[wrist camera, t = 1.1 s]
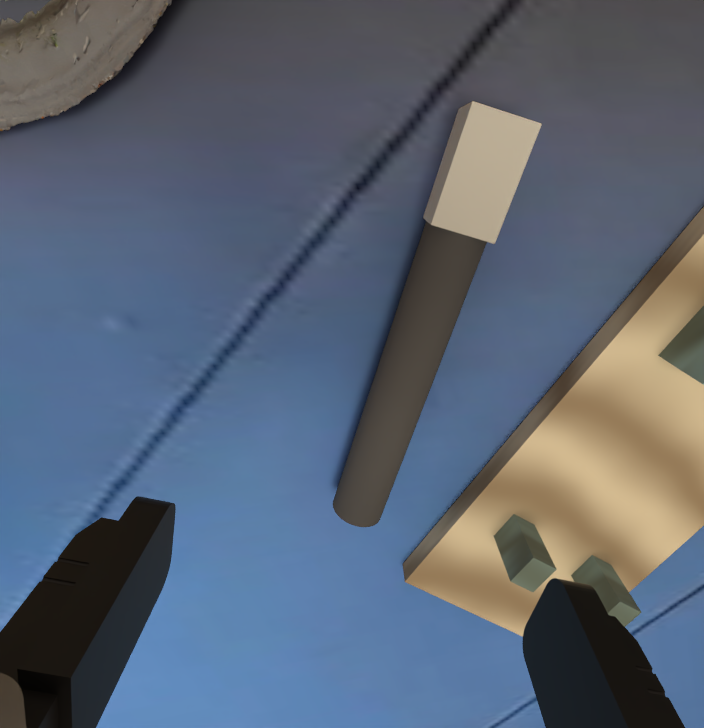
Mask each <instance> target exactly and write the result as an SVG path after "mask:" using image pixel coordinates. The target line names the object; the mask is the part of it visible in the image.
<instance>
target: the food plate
mask: <svg viewBox="0 0 704 728" xmlns="http://www.w3.org/2000/svg"><path fill="white" fill-rule="evenodd" d="M5 1H8V0H5ZM171 2H172V0H52V1H50V2H48V3H47V4H46V5H45V6H44V7H43V8H42V9H41V10H40V11H37V14H36V15H35V14H34V13H33V11H30V12H28V13H26V15H25V16H24V17H23V20H21V21H20V23H16V22H15V21H14V20H12V19H10V18H7V20H6V21H4V20H3V19H2V21H1V23H0V131H3V130H9V129H10V128H11V126H15V125H16V124H18V123H19V124H20V123H21V122H23V123H25V122H27V123H28V122H29V121H33V120H35V119H36V120H38V118H42V119H44V117H45V116H47V117H48V115H50V116H51V117H52V116H54V115H56V116H58V115H59V114H60V112H62V111H63V110H64V111H66V110H67V109H68V108H71V106H75V105H77V104H79V103H80V101H81V100H82V99H83V98H86V96H88V95H90V94H91V93H94V92H96V90H97V89H98V87H100V86H101V85H103V84H104V83H105V82H106V80H108V81H109V80H111V77H113V75H114V73H115V72H116V73H115V76H116V75H117V74H118V73H119V72H118V71H119V70H121V69H122V67H123V66H124V65H125V64H126V63H127V62H129V60H130V59H131V57H132V56H133V53H134V52H135V51H136V50H137V49H138V48H139V47H140V46H141V44H142V43H143V42H144V40H145V39H147V36H148V35H149V34H150V33H151V32H152V31H153V30H154V29H153V27H156V25H157V24H156V23H157V20H158V18H159V17H160V16H162V15H163V12H164V11H165V10H166V8H167V6H168V4H169V6H170V5H171ZM168 8H169V7H168ZM153 24H155V25H153ZM158 24H159V23H158ZM115 76H114V77H115ZM114 77H113V78H114Z"/></svg>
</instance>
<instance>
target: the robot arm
mask: <svg viewBox="0 0 704 728" xmlns="http://www.w3.org/2000/svg"><path fill="white" fill-rule="evenodd" d="M174 521H175V504H174V503H170V502H165V501H160V500H154V499H149V498H144V497H139V496H138V497H136V498H135V499H134V500H133V501H132V502H131V504H130V505H129V507H128V508H127V509H126V511H125V512H124V514H123V515H122V517H121V518H120V520H119V521H117V520H112V519H106V518H100V519H99V520H97V521H96V522H94V523H93V524H91V525H90V526H88V527H87V528H85V529H84V530H82V531H81V532H79V533H78V534H76V535H75V537H74V538H73V539H72V541H71V542H70V543H69V544H68V546H67V547H66V548H65V550H64V551H63V552H62V553H61V555H60V556H59V558H58V561H57V562H55V563H54V564H53V565H52V566H51V568H50V569H49V570H48V572H47V573H46V574H45V575H44V578H43V580H42V582H39V583H38V584H37V586H36V587H35V588H34V590H33V591H32V592H31V593H30V595H29V596H28V597H27V599H26V600H25V601H24V602H23V604H22V605H21V606H20V608H19V609H18V610H17V611H16V613H15V614H14V615H13V617H12V618H11V619H10V621H9V622H8V623H7V624H6V626H5V627H4V628H3V630H2V631H1V632H0V728H96V726H97V724H98V722H99V720H100V718H101V716H102V714H103V712H104V710H105V708H106V705H107V703H108V701H109V699H110V697H111V695H112V693H113V691H114V689H115V687H116V685H117V682H118V680H119V678H120V676H121V674H122V672H123V670H124V668H125V666H126V664H127V662H128V660H129V657H130V655H131V653H132V651H133V649H134V647H135V645H136V643H137V641H138V639H139V637H140V634H141V632H142V630H143V628H144V626H145V624H146V622H147V620H148V618H149V616H150V614H151V612H152V609H153V607H154V605H155V603H156V601H157V599H158V597H159V595H160V593H161V591H162V588H163V586H164V583H165V581H166V577H167V574H168V571H169V567H170V562H171V555H172V544H173V533H174ZM523 653H524V658H525V662H526V665H527V668H528V671H529V675H530V678H531V681H532V684H533V688H534V691H535V694H536V697H537V701H538V704H539V707H540V710H541V714H542V717H543V720H544V723H545V726H546V728H685V727H684V725H683V723H682V721H681V720H680V718H679V716H678V714H677V712H676V710H675V709H674V707H673V705H672V703H671V701H670V700H669V698H667V697H665V691H664V689H663V687H662V685H661V683H660V682H659V680H658V678H657V676H656V674H653V673H652V667H651V665H650V663H649V662H648V660H647V658H646V656H645V654H644V653H643V651H642V649H641V647H640V645H639V643H638V642H637V640H636V639H635V638H634V637H633V636H632V635H631V634H630V633H629V632H628V630H627V629H626V628H625V627H624V626H623V625H622V624H621V623H620V621H619V620H618V619H617V618H616V617H615V616H610V615H608V613H607V611H606V609H605V607H604V605H603V603H602V601H601V600H600V598H599V596H598V594H597V592H596V590H595V589H594V588H593V587H592V586H590V585H588V584H583V583H578V582H572V581H567V580H562V579H557V578H553V579H551V580H550V581H549V582H548V583H547V585H546V587H545V589H544V591H543V593H542V595H541V597H540V598H539V600H538V602H537V604H536V606H535V608H534V610H533V612H532V614H531V616H530V618H529V620H528V622H527V624H526V626H525V629H524V633H523Z"/></svg>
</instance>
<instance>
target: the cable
mask: <svg viewBox="0 0 704 728" xmlns="http://www.w3.org/2000/svg"><path fill="white" fill-rule="evenodd" d="M541 125H542V124H541V123H538V122H535V121H532V120H529V119H526V118H523V117H520V116H517V115H513V114H510V113H507V112H504V111H501V110H498V109H495V108H492V107H489V106H486V105H483V104H480V103H477V102H474V101H472V102H470V103H468V104H467V105H465V106H463V107H461V108H459V110H458V113H457V116H456V119H455V122H454V125H453V128H452V131H451V134H450V137H449V140H448V143H447V146H446V149H445V152H444V155H443V158H442V161H441V164H440V167H439V170H438V173H437V176H436V180H435V183H434V186H433V189H432V192H431V195H430V198H429V201H428V204H427V207H426V210H425V213H424V216H423V218H424V219H425V220H426V224H425V227H424V230H423V233H422V236H421V239H420V242H419V245H418V248H417V251H416V254H415V257H414V260H413V263H412V266H411V269H410V272H409V275H408V278H407V281H406V284H405V287H404V290H403V293H402V296H401V299H400V302H399V305H398V308H397V311H396V314H395V317H394V320H393V323H392V326H391V329H390V332H389V335H388V338H387V341H386V344H385V347H384V350H383V353H382V356H381V359H380V362H379V365H378V368H377V371H376V374H375V377H374V380H373V383H372V386H371V389H370V392H369V395H368V398H367V401H366V404H365V407H364V410H363V413H362V416H361V419H360V422H359V425H358V428H357V431H356V434H355V437H354V440H353V443H352V446H351V449H350V452H349V455H348V458H347V461H346V464H345V467H344V470H343V473H342V476H341V479H340V482H339V485H338V488H337V491H336V494H335V497H334V500H333V508H334V510H335V512H336V514H337V515H338V516H339V517H340V518H341V519H343V520H344V521H345V522H347V523H349V524H352V525H354V526H359V527H370V526H373V525H375V524H377V523H378V522H379V520H380V518H381V515H382V513H383V510H384V507H385V505H386V502H387V500H388V497H389V494H390V492H391V489H392V487H393V484H394V481H395V479H396V476H397V474H398V471H399V468H400V466H401V463H402V461H403V458H404V455H405V453H406V450H407V448H408V445H409V443H410V440H411V437H412V435H413V432H414V430H415V427H416V424H417V422H418V419H419V417H420V414H421V411H422V409H423V406H424V404H425V401H426V398H427V396H428V393H429V391H430V388H431V385H432V383H433V380H434V378H435V375H436V372H437V370H438V367H439V365H440V362H441V360H442V357H443V354H444V352H445V349H446V347H447V344H448V341H449V339H450V336H451V334H452V331H453V328H454V326H455V323H456V321H457V318H458V315H459V313H460V310H461V308H462V305H463V302H464V300H465V297H466V295H467V292H468V289H469V287H470V284H471V282H472V279H473V277H474V274H475V271H476V269H477V266H478V264H479V261H480V258H481V256H482V253H483V251H484V248H485V245H486V243H487V242H490V243H493V244H495V242H496V239H497V237H498V234H499V232H500V229H501V227H502V224H503V222H504V219H505V216H506V214H507V211H508V209H509V206H510V204H511V201H512V199H513V196H514V194H515V191H516V188H517V186H518V183H519V181H520V178H521V176H522V173H523V171H524V168H525V165H526V163H527V160H528V158H529V155H530V153H531V150H532V148H533V145H534V143H535V140H536V137H537V135H538V132H539V130H540V127H541Z"/></svg>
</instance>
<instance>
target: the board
mask: <svg viewBox="0 0 704 728" xmlns="http://www.w3.org/2000/svg"><path fill="white" fill-rule="evenodd" d="M702 526H704V207H703V208H702V209H701V210H700V212H699V213H698V214H697V215H696V216H695V217H694V219H693V220H692V221H691V222H690V223H689V225H688V226H687V227H686V228H685V229H684V231H683V232H682V233H681V234H680V235H679V236H678V238H677V239H676V240H675V241H674V242H673V244H672V245H671V246H670V247H669V248H668V250H667V251H666V252H665V253H664V254H663V255H662V257H661V258H660V259H659V260H658V261H657V263H656V264H655V265H654V266H653V267H652V269H651V270H650V271H649V272H648V273H647V274H646V276H645V277H644V278H643V279H642V280H641V282H640V283H639V284H638V285H637V286H636V288H635V289H634V290H633V291H632V292H631V294H630V295H629V296H628V297H627V298H626V299H625V301H624V302H623V303H622V304H621V305H620V307H619V308H618V309H617V310H616V311H615V313H614V314H613V315H612V316H611V317H610V318H609V320H608V321H607V322H606V323H605V324H604V326H603V327H602V328H601V329H600V330H599V332H598V333H597V334H596V335H595V336H594V337H593V339H592V340H591V341H590V342H589V343H588V345H587V346H586V347H585V348H584V349H583V351H582V352H581V353H580V354H579V355H578V356H577V358H576V359H575V360H574V361H573V362H572V364H571V365H570V366H569V367H568V368H567V370H566V371H565V372H564V373H563V374H562V375H561V377H560V378H559V379H558V380H557V381H556V383H555V384H554V385H553V386H552V387H551V389H550V390H549V391H548V392H547V393H546V394H545V396H544V397H543V398H542V399H541V400H540V402H539V403H538V404H537V405H536V406H535V408H534V409H533V410H532V411H531V412H530V413H529V415H528V416H527V417H526V418H525V419H524V421H523V422H522V423H521V424H520V425H519V427H518V428H517V429H516V430H515V431H514V432H513V434H512V435H511V436H510V437H509V438H508V440H507V441H506V442H505V443H504V444H503V446H502V447H501V448H500V449H499V450H498V452H497V453H496V454H495V455H494V456H493V457H492V459H491V460H490V461H489V462H488V463H487V465H486V466H485V467H484V468H483V469H482V471H481V472H480V473H479V474H478V475H477V476H476V478H475V479H474V480H473V481H472V482H471V484H470V485H469V486H468V487H467V488H466V490H465V491H464V492H463V493H462V494H461V495H460V497H459V498H458V499H457V500H456V501H455V503H454V504H453V505H452V506H451V507H450V509H449V510H448V511H447V512H446V513H445V514H444V516H443V517H442V518H441V519H440V520H439V522H438V523H437V524H436V525H435V526H434V528H433V529H432V530H431V531H430V532H429V533H428V535H427V536H426V537H425V538H424V539H423V541H422V542H421V543H420V544H419V545H418V547H417V548H416V549H415V550H414V551H413V552H412V554H411V555H410V556H409V557H408V558H407V560H406V561H405V562H404V563H403V570H404V579H405V582H406V583H409V584H411V585H413V586H415V587H417V588H419V589H421V590H424V591H426V592H428V593H430V594H432V595H434V596H437V597H439V598H441V599H443V600H445V601H447V602H449V603H452V604H454V605H456V606H458V607H460V608H462V609H465V610H467V611H469V612H471V613H473V614H475V615H477V616H480V617H482V618H484V619H486V620H488V621H490V622H492V623H495V624H497V625H499V626H501V627H503V628H505V629H508V630H510V631H512V632H514V633H516V634H518V635H520V636H523V633H524V629H525V626H526V624H527V622H528V620H529V618H530V616H531V614H532V612H533V610H534V608H535V606H536V604H537V602H538V600H539V598H540V597H541V595H542V593H543V591H544V589H545V587H546V585H547V583H548V582H549V581H550V580H551V579H553V578H557V579H562V580H567V581H572V582H578V583H583V584H588V585H590V586H592V587H593V588H594V589H595V590H596V592H597V594H598V596H599V598H600V600H601V601H602V603H603V605H604V607H605V609H606V611H607V613H608V615H610V616H615V617H616V618H617V619H618V620H619V621H620V623H621V624H622V625H623V626H624V627H625V626H626V625H627V624H629V623H630V622H631V621H632V620H633V619H634V618H636V617H637V616H638V615H639V614H640V613H641V611H640V609H639V608H638V606H637V605H636V603H635V601H634V600H633V598H632V597H631V595H630V594H629V592H630V591H631V590H632V589H633V588H634V587H635V586H637V585H638V584H639V583H640V582H641V581H642V580H643V579H644V578H646V577H647V576H648V575H649V574H650V573H651V572H652V571H653V570H654V569H656V568H657V567H658V566H659V565H660V564H661V563H662V562H663V561H664V560H666V559H667V558H668V557H669V556H670V555H671V554H672V553H673V552H675V551H676V550H677V549H678V548H679V547H680V546H681V545H682V544H683V543H685V542H686V541H687V540H688V539H689V538H690V537H691V536H692V535H694V534H695V533H696V532H697V531H698V530H699V529H700V528H701V527H702Z"/></svg>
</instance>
